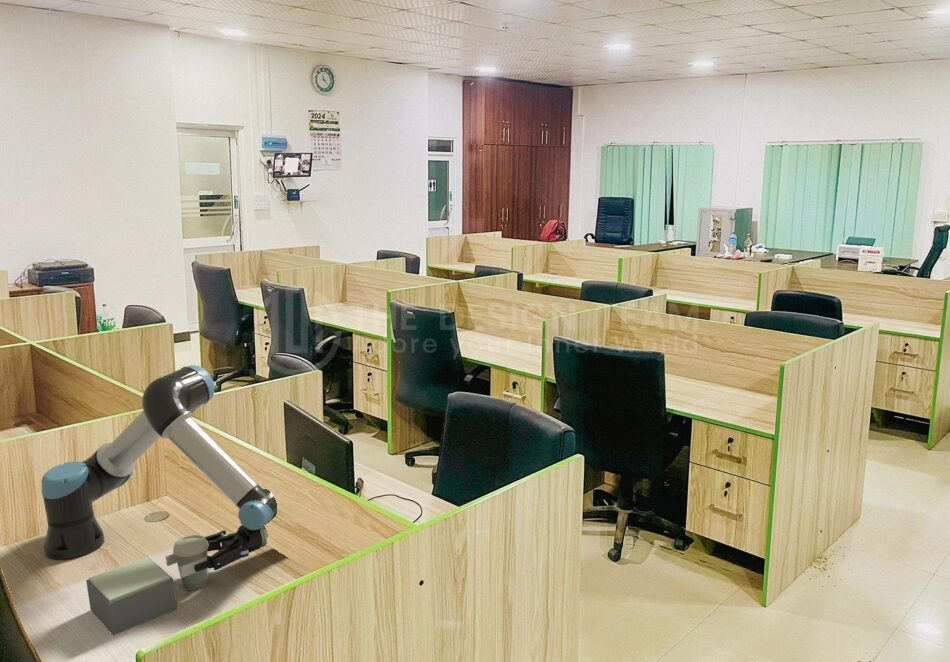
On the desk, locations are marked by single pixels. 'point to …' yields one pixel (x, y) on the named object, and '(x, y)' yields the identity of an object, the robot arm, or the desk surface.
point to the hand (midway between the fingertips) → (173, 566)
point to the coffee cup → (192, 559)
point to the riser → (131, 594)
